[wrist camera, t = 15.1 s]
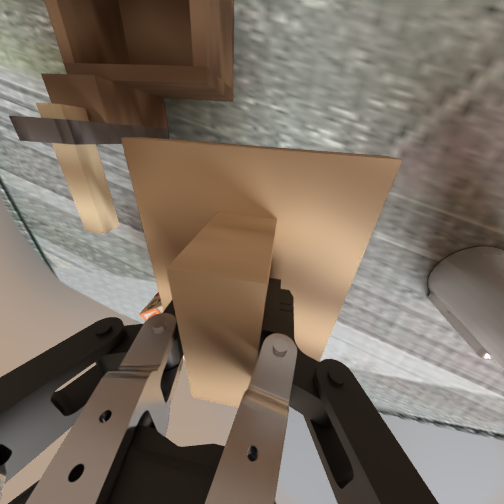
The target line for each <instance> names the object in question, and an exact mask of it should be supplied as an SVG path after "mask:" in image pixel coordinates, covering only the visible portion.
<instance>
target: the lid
mask: <svg viewBox="0 0 504 504" xmlns="http://www.w3.org/2000/svg"><path fill="white" fill-rule="evenodd" d="M121 140H122V144H123V148H124V152H125V156H126V160H127V164H128V168H129V173H130V177H131V181H132V185H133V189H134V193H135V197H136V201H137V205H138V209H139V213H140V217H141V221H142V226H143V230H144V234H145V238H146V242H147V246H148V250H149V254H150V258H151V262H152V266H153V270H154V274H155V279H156V283H157V287H158V291H159V295H160V299H161V303H162V307H163V311H164V310H165V309H166V307H167V306H168V304H169V303H170V302H171V300H173V305H174V309H175V314H176V319H177V324H178V329H179V334H180V339H181V344H182V349H183V354H184V359H185V364H186V369H187V374H188V378H189V383H190V388H191V393H192V397H195V398H199V399H204V400H208V401H212V402H217V403H221V404H225V405H230V406H234V407H239V405H240V402H241V400H242V397H243V395H244V392H245V391H246V390H247V389H248V386H249V383H250V380H251V377H252V375H253V372H254V369H255V366H256V363H257V360H258V353H259V345H260V337H261V329H262V323H263V316H264V309H265V303H266V296H267V289H268V283H269V278H275V279H281V289H286V290H290V292H291V294H292V295H293V297H294V338H295V342H296V344H297V346H298V348H299V349H300V350H301V351H302V352H303V353H304V354H306V355H307V356H309V357H311V358H313V359H315V360H317V361H320V359H321V356H322V354H323V352H324V349H325V347H326V344H327V342H328V339H329V337H330V335H331V332H332V330H333V327H334V325H335V322H336V320H337V318H338V315H339V313H340V310H341V308H342V305H343V303H344V301H345V298H346V296H347V293H348V291H349V288H350V286H351V284H352V281H353V279H354V276H355V274H356V271H357V269H358V267H359V264H360V262H361V259H362V257H363V254H364V252H365V250H366V247H367V245H368V242H369V240H370V237H371V235H372V233H373V230H374V228H375V225H376V223H377V220H378V218H379V216H380V213H381V211H382V208H383V206H384V203H385V201H386V199H387V196H388V194H389V191H390V189H391V186H392V184H393V182H394V179H395V177H396V174H397V172H398V169H399V167H400V165H401V162H402V160H401V159H397V158H393V157H389V156H380V155H367V154H354V153H341V152H328V151H315V150H302V149H289V148H276V147H263V146H250V145H237V144H224V143H211V142H198V141H185V140H172V139H159V138H146V137H127V138H121Z"/></svg>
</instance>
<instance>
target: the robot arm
mask: <svg viewBox="0 0 504 504" xmlns="http://www.w3.org/2000/svg"><path fill="white" fill-rule="evenodd" d="M428 287H429V289H430V294H429V296H428V299H429V300H430V301H431V302H432V303H433V305H434V306H435V307H436V308H437V309H438V310H439V311H440V313H441V314H442V315H443V316H444V317H445V318H446V319H447V321H448V322H449V323H450V324H451V325H452V326H453V328H454V329H455V330H456V331H457V332H458V333H459V334H460V336H461V337H462V338H463V339H464V340H465V341H466V342H467V344H468V345H469V346H470V347H471V348H472V349H473V351H474V352H475V353H476V354H477V355H478V356H480V357H482V358H485V359H490V360H494V361H495V362H496V363H497V365H498V366H499V367H500V368H501V369H502V370H503V371H504V251H503V250H501V249H499V248H494V247H482V246H481V247H473V248H469V249H465V250H461V251H459V252H456V253H454V254H452V255H450V256H448V257H447V258H445V259H444V260H442V261H441V262H440V263H439V264H438V265H437V266H436V267H435V268H434V269H433V271H432V272H431V274H430V276H429V279H428ZM183 355H184V354H183V349H182V344H181V339H180V334H179V329H178V324H177V319H176V314H175V309H174V305H173V300H171V302H170V303H169V304H168V306H167V307H166V309H165V310H164V311H163V313H160V314H156V315H154V316H152V317H150V318H149V319H148V320H146V322H145V323H144V324H137V325H127V326H124V325H123V322H122V320H121V319H119V318H116V317H109V318H105V319H102V320H99V321H97V322H95V323H94V324H92V325H90V326H88V327H87V328H85V329H83V330H82V331H80V332H78V333H76V334H75V335H73V336H71V337H69V338H68V339H66V340H65V341H63V342H61V343H59V344H57V345H56V346H54V347H52V348H50V349H49V350H47V351H45V352H44V353H42V354H40V355H39V356H37V357H35V358H33V359H32V360H30V361H28V362H26V363H25V364H23V365H21V366H19V367H18V368H16V369H14V370H13V371H11V372H9V373H7V374H6V375H4V376H2V377H1V378H0V500H1V497H2V493H1V490H2V488H3V485H4V484H5V483H6V482H7V481H8V480H10V479H11V478H12V477H13V476H14V475H15V474H17V473H18V472H19V471H20V470H21V469H22V468H24V467H25V466H26V465H27V464H28V463H30V462H31V461H32V460H33V459H34V458H35V457H37V456H38V455H39V454H40V453H41V452H42V451H44V450H45V449H46V448H47V447H48V446H49V445H50V444H52V443H53V442H54V441H55V440H56V439H58V438H59V437H60V436H61V435H62V434H63V433H64V432H66V431H67V430H68V429H69V428H70V427H72V428H71V430H70V432H69V433H68V435H67V436H66V438H65V439H64V441H63V443H62V444H61V446H60V448H59V449H58V451H57V453H56V454H55V456H54V458H53V459H52V461H51V462H50V464H49V466H48V467H47V469H46V471H45V472H44V474H43V476H42V478H41V479H40V480H39V481H37V482H36V483H35V484H33V485H32V486H31V487H29V488H28V489H27V490H25V491H24V492H23V493H21V494H20V495H19V496H17V497H16V498H15V499H13V500H12V501H11V502H9V503H8V504H276V502H275V496H276V489H277V483H278V477H279V470H280V464H281V458H282V452H283V445H284V440H285V433H286V427H287V421H288V413H289V408H288V406H290V407H292V408H293V409H295V410H296V411H298V412H300V413H301V414H303V415H304V418H305V421H306V423H307V426H308V428H309V431H310V434H311V436H312V439H313V441H314V444H315V446H316V449H317V451H318V454H319V456H320V459H321V462H322V464H323V467H324V469H325V472H326V475H327V477H328V480H329V482H330V485H331V487H332V490H333V492H334V495H335V498H336V500H337V503H338V504H439V503H438V502H437V501H436V499H435V497H434V496H433V495H432V493H431V491H430V490H429V489H428V487H427V485H426V484H425V482H424V481H423V479H422V478H421V476H420V475H419V473H418V472H417V470H416V469H415V467H414V466H413V464H412V463H411V461H410V460H409V458H408V457H407V455H406V454H405V452H404V451H403V449H402V447H401V446H400V444H399V443H398V441H397V440H396V438H395V437H394V435H393V434H392V433H391V431H390V429H389V428H388V426H387V425H386V423H385V422H384V420H383V419H382V417H381V416H380V414H379V413H378V411H377V410H376V408H375V407H374V405H373V404H372V402H371V401H370V399H369V398H368V396H367V395H366V393H365V391H364V390H363V388H362V387H361V385H360V384H359V382H358V381H357V379H356V378H355V376H354V375H353V373H352V372H351V371H350V369H349V368H348V367H347V366H345V365H344V364H343V363H341V362H339V361H337V360H333V359H325V360H323V361H321V362H319V361H317V360H315V359H313V358H311V357H309V356H307V355H306V354H304V353H303V352H302V351H301V350H300V349H299V348H298V346H297V344H296V342H295V338H294V297H293V295H292V294H291V292H290V290H286V289H281V279H275V278H269V283H268V289H267V296H266V303H265V309H264V316H263V323H262V329H261V337H260V345H259V353H258V360H257V363H256V366H255V369H254V372H253V375H252V377H251V380H250V383H249V386H248V389H247V390H246V391H245V392H244V395H243V397H242V400H241V402H240V405H239V408H238V411H237V414H236V417H235V419H234V422H233V425H232V428H231V431H230V434H229V436H228V440H227V442H226V445H225V446H221V445H217V444H206V445H196V446H187V447H179V446H177V445H175V444H174V443H172V442H171V441H170V440H169V439H167V438H166V437H165V435H166V432H167V428H168V422H169V411H170V405H171V401H172V398H173V394H174V390H175V388H176V384H177V381H178V378H179V374H180V371H181V367H182V364H183ZM94 362H96V365H95V366H94V367H92V368H91V369H89V370H88V371H87V372H85V373H84V374H83V375H81V376H80V377H78V378H77V379H76V380H74V381H73V382H72V383H70V384H69V385H67V386H66V387H65V388H63V389H61V390H60V391H57V392H55V391H56V390H57V389H58V388H59V387H60V386H62V385H63V384H65V383H66V382H67V381H69V380H70V379H72V378H73V377H75V376H76V375H77V374H79V373H80V372H81V371H83V370H84V369H86V368H87V367H89V366H90V365H91V364H93V363H94Z"/></svg>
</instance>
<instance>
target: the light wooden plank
mask: <svg viewBox="0 0 504 504" xmlns="http://www.w3.org/2000/svg"><path fill="white" fill-rule="evenodd" d="M36 105H37V107H38V110H39V112H40V115H41V117H42V118H52V119H68V120H78V121H89V119H88V116H87V112H86V109H85V108H82V107H76V106H69V105H63V104H49V103H36ZM52 146H53V148H54V151H55V153H56V156H57V158H58V161H59V164H60V166H61V169H62V171H63V174H64V176H65V179H66V182H67V184H68V187H69V189H70V192H71V194H72V197H73V200H74V202H75V205H76V207H77V210H78V212H79V215H80V217H81V220H82V223H83V225H84V228H85V230H86V231H89V232H97V233H106V232H108V231H110V230H112V229H114V228H116V227H118V226H120V225H119V221H118V218H117V214H116V211H115V208H114V204H113V201H112V197H111V194H110V191H109V187H108V184H107V180H106V177H105V173H104V170H103V167H102V163H101V160H100V156H99V153H98V150H97V146H96V144H84V145H73V144H60V143H52Z"/></svg>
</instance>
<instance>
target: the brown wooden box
mask: <svg viewBox="0 0 504 504" xmlns="http://www.w3.org/2000/svg"><path fill="white" fill-rule="evenodd" d="M45 4H46V7H47V10H48V13H49V17H50V20H51V23H52V26H53V30H54V33H55V36H56V39H57V42H58V46H59V49H60V52H61V55H62V59H63V62H64V65H65V68H66V72H67V74H41V75H42V78H43V80H44V83H45V86H46V89H47V92H48V94H49V97H50V100H51V103H52V104H63V105H69V106H76V107H82V108H85V109H86V112H87V116H88V119H89V121H78V120H68V119H52V118H36V117H19V116H9V117H10V119H11V122H12V124H13V126H14V128H15V130H16V132H17V135H18V137H19V139H20V140H21V141H34V142H47V143H60V144H73V145H84V144H122V140H121V138H127V137H146V138H159V139H169V133H168V125H167V118H166V110H165V103H164V98H171V99H193V100H215V101H233V55H234V0H45Z"/></svg>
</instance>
